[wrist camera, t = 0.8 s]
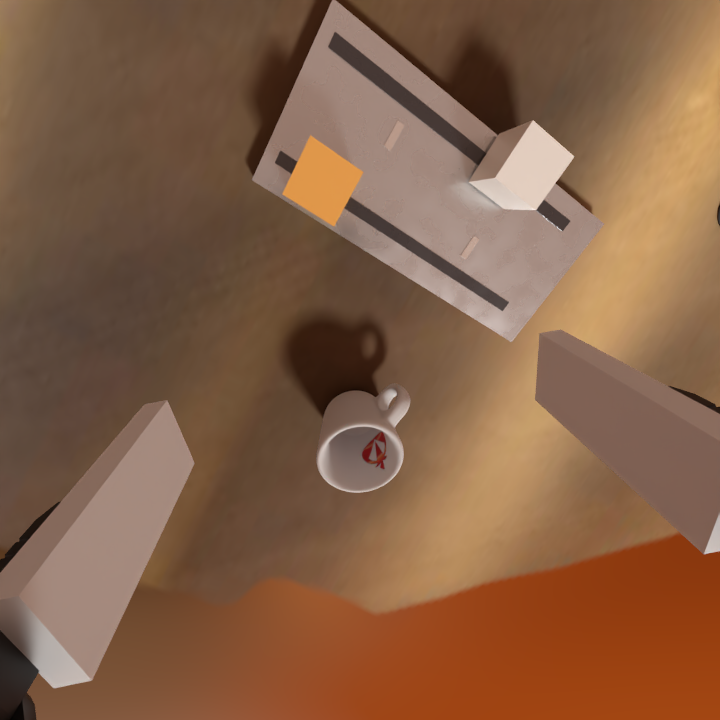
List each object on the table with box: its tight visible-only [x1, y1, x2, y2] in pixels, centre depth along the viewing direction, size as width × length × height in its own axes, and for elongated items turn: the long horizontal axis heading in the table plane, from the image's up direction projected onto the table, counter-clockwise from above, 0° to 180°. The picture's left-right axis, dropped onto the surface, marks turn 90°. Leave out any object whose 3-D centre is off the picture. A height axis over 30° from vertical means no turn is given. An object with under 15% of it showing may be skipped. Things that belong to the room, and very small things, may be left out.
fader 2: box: [469, 120, 574, 210], centre depth 27 cm, size 4×4×5 cm
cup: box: [316, 384, 410, 492], centre depth 36 cm, size 11×8×8 cm
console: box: [252, 0, 604, 342], centre depth 31 cm, size 28×13×2 cm, turn 59°
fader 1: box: [282, 135, 363, 226], centre depth 26 cm, size 4×4×5 cm
